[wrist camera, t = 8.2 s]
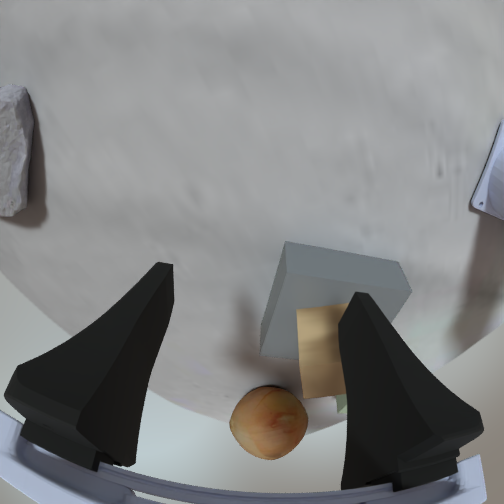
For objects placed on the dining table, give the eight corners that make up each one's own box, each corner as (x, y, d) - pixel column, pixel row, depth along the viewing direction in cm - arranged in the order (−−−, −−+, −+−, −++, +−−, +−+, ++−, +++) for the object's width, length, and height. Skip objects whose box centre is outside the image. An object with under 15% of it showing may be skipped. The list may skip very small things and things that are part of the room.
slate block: (397, 259, 23) (412, 291, 20) (354, 332, 29) (360, 363, 26) (284, 238, 23) (286, 272, 19) (261, 321, 29) (259, 355, 25)
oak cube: (362, 300, 21) (376, 356, 17) (358, 340, 23) (367, 390, 19) (296, 309, 21) (299, 366, 17) (301, 347, 24) (303, 398, 20)
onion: (225, 375, 35) (216, 448, 27) (306, 371, 33) (309, 447, 25) (240, 405, 40) (235, 465, 32) (307, 402, 39) (309, 464, 31)
